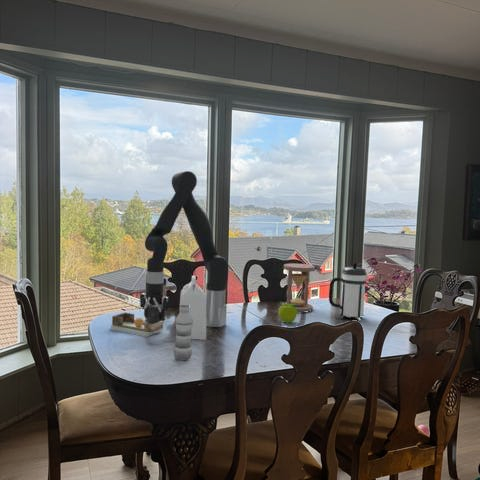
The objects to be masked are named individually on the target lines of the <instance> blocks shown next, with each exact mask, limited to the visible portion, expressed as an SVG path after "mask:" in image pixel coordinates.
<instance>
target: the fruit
mask: <svg viewBox="0 0 480 480" xmlns="http://www.w3.org/2000/svg"><path fill="white" fill-rule="evenodd" d="M286 303H287V302H282V301H280V302H279V304H281V305H280V306H279V308H278V317H279V319H280V320H281V321H282V322H283V321H284V323H285V322H291V323H292V322H294V321H295V320H296V319H297V315H298V313H297V309H296V308H295V306H294V305H297V304H291V305H290V304H286ZM282 304H284V305H282Z"/></svg>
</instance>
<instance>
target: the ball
mask: <svg viewBox="0 0 480 480" xmlns="http://www.w3.org/2000/svg"><path fill="white" fill-rule="evenodd" d="M134 320H135V322H134V323H135V325H136V326H137V327H141V326H142V325H143V323H144V322H145V321H144V319H143V318H141V317H138V318H136V319H134Z"/></svg>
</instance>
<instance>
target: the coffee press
mask: <svg viewBox="0 0 480 480" xmlns="http://www.w3.org/2000/svg"><path fill="white" fill-rule="evenodd" d="M341 273H342V277H335V278H332V279H331V281H330V283H329V290H328V301H329V304H330V305H331V306H332V307H335V308H338V309H339V310H340V315H339V316H341V317H342V316H346V317H345V318H351V317H360V316H364V309H365V308H364V307H365V295H366V294H365V293H366V284H367V280H369V279H370V277H369V275H368V272H367V271H366V269H365V268H363V267H358V264H357V262H353V263H352V266H345V267H344V268H343V270H342V271H341ZM336 282H341V294H340V304H339V303H335V301H333V294H334V293H333V292H334V284H335V283H336Z"/></svg>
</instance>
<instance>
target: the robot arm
mask: <svg viewBox="0 0 480 480" xmlns="http://www.w3.org/2000/svg"><path fill="white" fill-rule="evenodd" d="M197 183H198V180H197V176H196V174H195V173H194V172H193V171H190V170H185V171H181V172H176V173H175V174H174V175H173V176H172V177H171V185H172V189H173V190H174V195H173V196H172V198H171V199H170V201H169V202H168V204H167V205H166V206H165V207H164V209H163V210H162V212H161V213H160V215H159V217H158V219H157V222H156V224H155V226H154V227H152V229H151V231H150V232H149V233H148V234H147V236H146V238H145V241H144V248H145V249H146V250H147V251H149V252H152V257H149V258H148V259H147V263H146V275H145V277H146V279H145V292H146V293H145V292H143V293H141V294H139V295H140V296H139V300H140V301H139V306H140V308H142V309H143V310H144V311H143V316H144V318H146V319H148V307H150V305H151V304H154V305H156V306H157V308H158V309H159V320H163V318H164V311H165V312H167V311H168V310H169V304H170V303H169V302H170V297H169V296H166V297H163V285H164V277H165V275H164V262H165V259H166V255H167V251H168V245H169V244H168V241H167V240H166V238H164V236H165V235H170V233H171V232H172V230H173V227H174V225H175V223H176V221H177V219H178V217H179V215H180V212H181V210H182V209H183V212H184V214H185V217H186V219H187V222H188V224H189V226H190V230H191V232H192V234H193V236H194V238H195V241H196V244H197V246H198V248H199V249H200V253H201V257H202V260H203V264H204V266H205V270H206V271H207V272H208V273H209V277H208V278H209V279H208V282H207V283H206V286H205V288H206V289H205V295H206V327H209V328H212V327H213V328H221V327H223V326H226V324H227V306H228V305H226V288H227V285H228V281H229V280H228V278H229V263H228V260H227V259H226V258H225V257H223V256H220V255H219V253H218V251H217V248H216V246H215V244H214V243H215V242H214V235H213V234H214V233H213V229H212V225H211V222H210V219H209V216H208V215H207V213H206V212H205V210H204V209H203V208H202V207H201V206H200V204H199V203H198V202H197V200H196V199H195V197H194V195H193V192H194V190H195V188H196V186H197ZM162 299H163V303H162ZM159 304H160V305H159ZM163 321H164V320H163Z"/></svg>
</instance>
